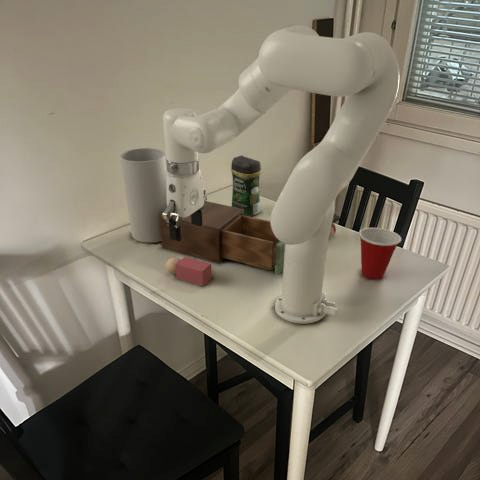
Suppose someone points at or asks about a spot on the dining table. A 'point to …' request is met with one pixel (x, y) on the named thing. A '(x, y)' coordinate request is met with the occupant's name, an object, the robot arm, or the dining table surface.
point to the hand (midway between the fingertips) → (186, 232)
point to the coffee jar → (246, 185)
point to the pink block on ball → (190, 270)
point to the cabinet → (201, 232)
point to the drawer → (252, 243)
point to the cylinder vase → (145, 191)
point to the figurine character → (333, 227)
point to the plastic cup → (377, 251)
